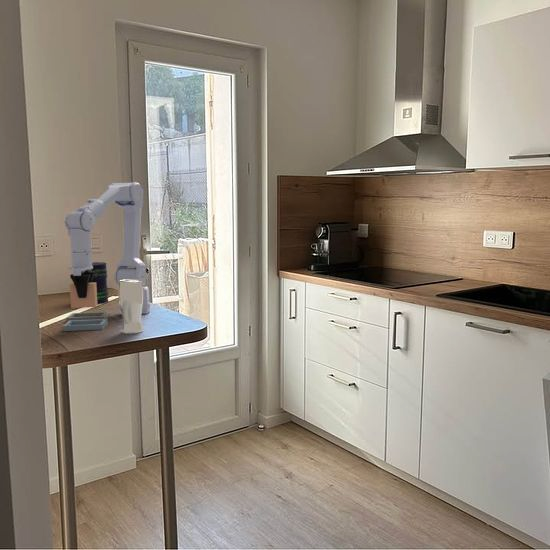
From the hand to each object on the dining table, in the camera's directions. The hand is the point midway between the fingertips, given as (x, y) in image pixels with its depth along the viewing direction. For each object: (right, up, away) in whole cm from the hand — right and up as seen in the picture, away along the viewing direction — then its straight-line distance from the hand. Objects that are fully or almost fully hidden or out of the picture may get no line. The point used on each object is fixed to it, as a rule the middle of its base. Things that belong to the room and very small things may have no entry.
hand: (84, 296), depth 168 cm
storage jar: (-11, -4, +46) cm, 47 cm away
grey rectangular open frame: (-3, -8, +13) cm, 16 cm away
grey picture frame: (0, -9, +1) cm, 9 cm away
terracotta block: (0, -3, 0) cm, 3 cm away
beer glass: (+16, -10, -5) cm, 20 cm away
